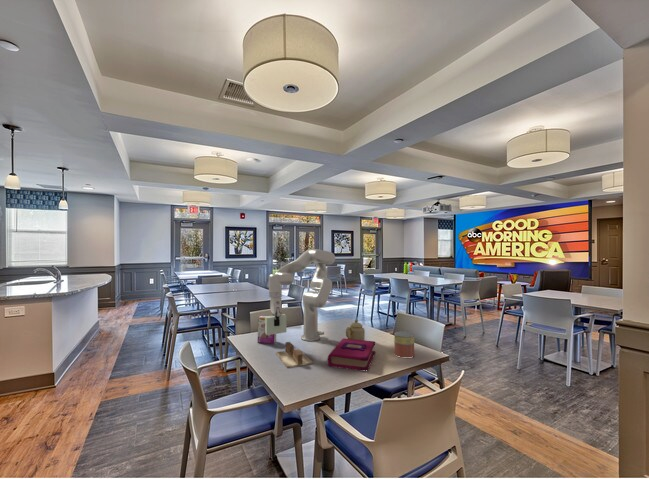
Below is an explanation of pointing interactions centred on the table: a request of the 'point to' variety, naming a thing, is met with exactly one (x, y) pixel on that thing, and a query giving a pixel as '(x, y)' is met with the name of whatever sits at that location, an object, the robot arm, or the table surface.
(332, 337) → the table surface
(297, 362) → the slot board
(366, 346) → the book
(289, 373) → the table surface
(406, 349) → the canned food
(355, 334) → the sugar bowl
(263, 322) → the candy bar box
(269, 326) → the sage plate
